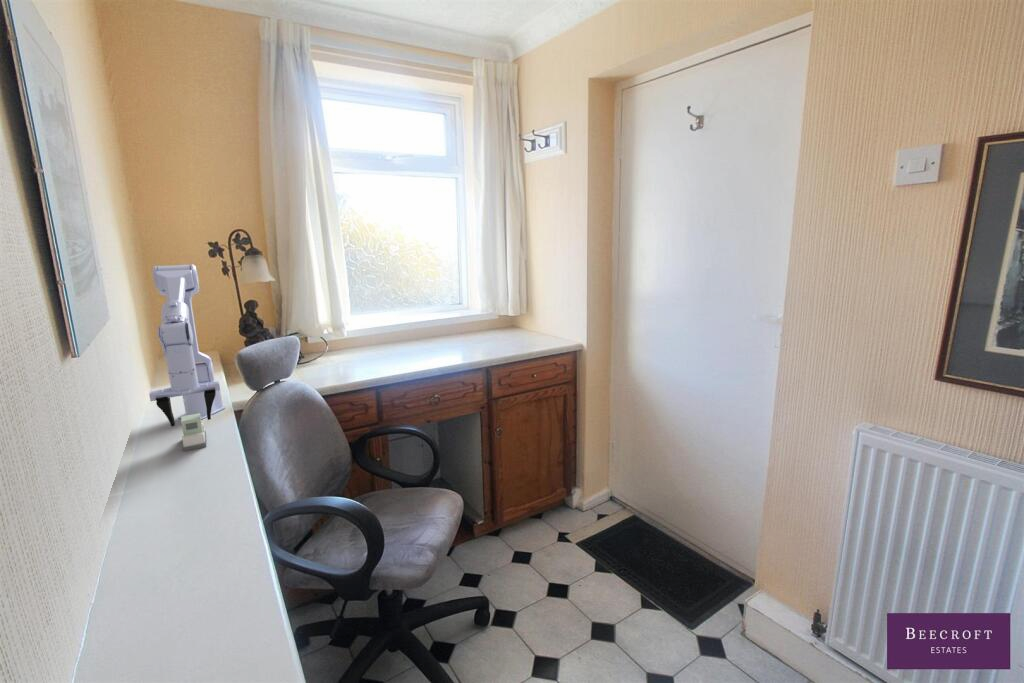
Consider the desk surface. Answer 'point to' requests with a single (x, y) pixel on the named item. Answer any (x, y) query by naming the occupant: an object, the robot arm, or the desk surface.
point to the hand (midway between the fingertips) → (191, 421)
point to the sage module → (191, 424)
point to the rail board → (194, 440)
